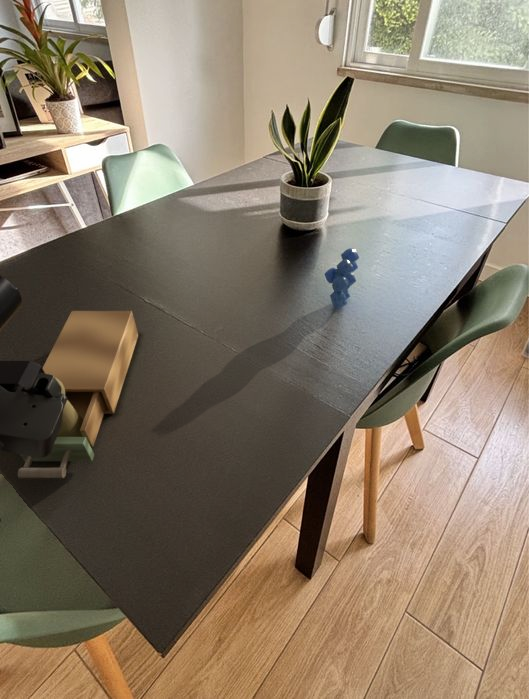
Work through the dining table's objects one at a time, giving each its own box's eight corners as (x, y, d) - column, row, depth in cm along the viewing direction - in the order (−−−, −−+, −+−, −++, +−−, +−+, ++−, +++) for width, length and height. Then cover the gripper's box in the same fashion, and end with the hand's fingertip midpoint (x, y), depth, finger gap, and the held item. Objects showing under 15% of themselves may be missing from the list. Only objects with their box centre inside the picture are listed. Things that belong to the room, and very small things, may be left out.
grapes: (329, 282, 97) (335, 234, 89) (358, 289, 95) (367, 240, 87) (313, 312, 89) (319, 262, 81) (345, 320, 87) (353, 270, 79)
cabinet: (113, 413, 70) (104, 389, 66) (45, 413, 70) (31, 389, 66) (138, 335, 84) (131, 310, 79) (81, 335, 84) (71, 310, 79)
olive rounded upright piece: (83, 446, 63) (59, 399, 56) (41, 452, 63) (10, 405, 55) (89, 414, 68) (66, 366, 60) (49, 419, 67) (21, 371, 59)
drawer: (83, 488, 60) (73, 471, 56) (12, 488, 60) (-2, 470, 56) (122, 370, 76) (115, 352, 73) (66, 370, 76) (57, 352, 73)
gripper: (-18, 492, 30) (58, 571, 40) (69, 318, 43) (109, 412, 54) (-179, 492, 29) (-60, 571, 40) (-42, 318, 43) (20, 413, 54)
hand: (14, 481), depth 47 cm, fingers open, 9 cm apart
